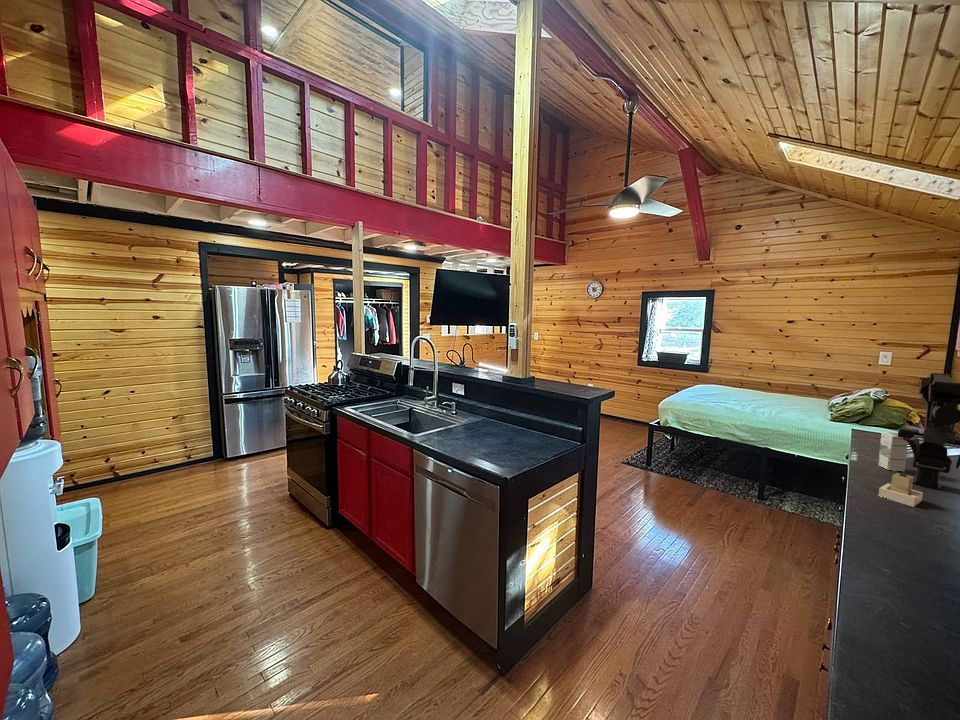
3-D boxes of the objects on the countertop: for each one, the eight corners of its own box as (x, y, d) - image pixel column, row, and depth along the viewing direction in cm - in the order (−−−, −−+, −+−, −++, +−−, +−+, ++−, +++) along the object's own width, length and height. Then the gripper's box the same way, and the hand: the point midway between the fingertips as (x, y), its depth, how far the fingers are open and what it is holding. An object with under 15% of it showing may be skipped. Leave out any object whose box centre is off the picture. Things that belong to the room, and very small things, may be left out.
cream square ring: (886, 491, 139) (888, 483, 139) (921, 501, 132) (922, 492, 131) (878, 496, 135) (879, 488, 135) (913, 506, 128) (914, 497, 127)
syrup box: (905, 472, 157) (910, 436, 155) (887, 470, 158) (892, 435, 156) (893, 466, 162) (898, 432, 161) (876, 465, 163) (880, 431, 162)
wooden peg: (893, 495, 136) (896, 470, 135) (910, 499, 133) (913, 474, 132) (889, 497, 134) (892, 472, 133) (906, 502, 131) (909, 476, 130)
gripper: (895, 415, 135) (889, 459, 137) (981, 429, 119) (973, 478, 121) (905, 411, 141) (900, 453, 143) (989, 424, 125) (982, 471, 127)
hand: (936, 463), depth 133 cm, fingers open, 9 cm apart
